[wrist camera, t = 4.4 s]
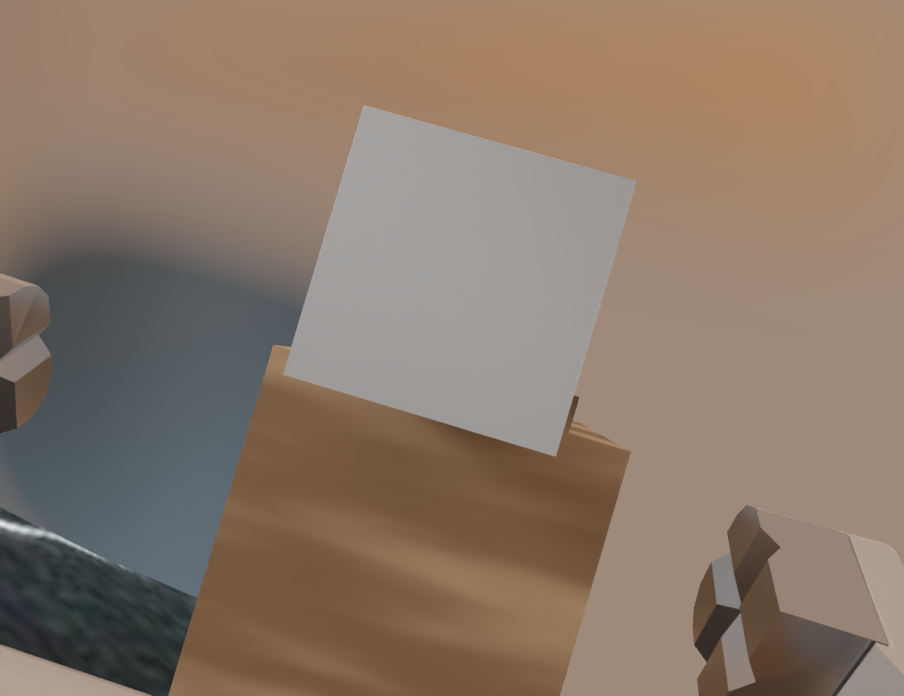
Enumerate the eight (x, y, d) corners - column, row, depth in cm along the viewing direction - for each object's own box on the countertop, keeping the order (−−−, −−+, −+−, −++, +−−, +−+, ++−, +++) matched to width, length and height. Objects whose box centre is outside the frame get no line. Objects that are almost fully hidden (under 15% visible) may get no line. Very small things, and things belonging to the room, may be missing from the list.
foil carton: (556, 456, 12) (637, 181, 12) (282, 374, 12) (363, 105, 12) (517, 405, 32) (547, 301, 32) (412, 374, 32) (443, 270, 32)
